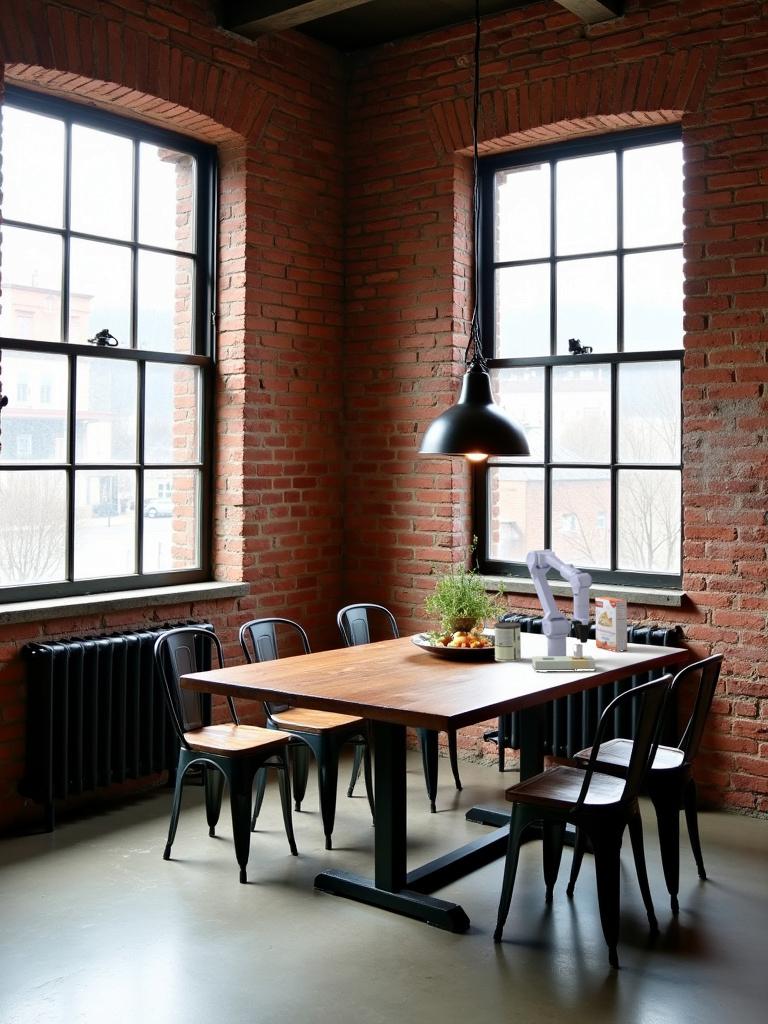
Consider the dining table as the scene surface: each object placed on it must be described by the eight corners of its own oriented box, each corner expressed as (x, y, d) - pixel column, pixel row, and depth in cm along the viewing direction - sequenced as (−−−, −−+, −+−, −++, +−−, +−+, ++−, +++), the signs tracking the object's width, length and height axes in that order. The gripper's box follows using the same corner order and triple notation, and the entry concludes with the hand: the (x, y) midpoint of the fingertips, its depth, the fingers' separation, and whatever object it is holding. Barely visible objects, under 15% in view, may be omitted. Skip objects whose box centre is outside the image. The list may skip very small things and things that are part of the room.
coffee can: (494, 657, 432) (494, 622, 431) (520, 657, 431) (520, 622, 430) (494, 662, 422) (494, 626, 421) (521, 662, 421) (520, 626, 420)
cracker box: (595, 647, 450) (594, 597, 449) (606, 646, 453) (606, 596, 452) (615, 652, 437) (615, 600, 436) (627, 651, 440) (627, 599, 439)
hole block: (532, 667, 410) (532, 656, 410) (591, 666, 409) (591, 655, 409) (535, 672, 400) (535, 661, 400) (595, 671, 400) (595, 660, 399)
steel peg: (573, 665, 406) (573, 644, 406) (581, 665, 406) (582, 644, 406) (574, 667, 403) (574, 645, 403) (582, 667, 403) (582, 645, 403)
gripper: (567, 602, 417) (567, 638, 418) (574, 608, 403) (574, 644, 404) (585, 602, 417) (585, 637, 418) (593, 607, 403) (593, 644, 404)
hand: (581, 641), depth 411 cm, fingers open, 7 cm apart
